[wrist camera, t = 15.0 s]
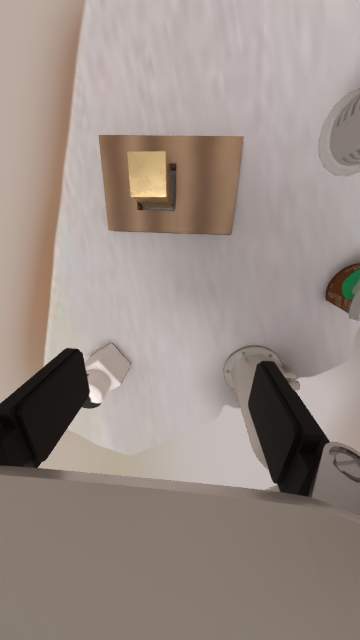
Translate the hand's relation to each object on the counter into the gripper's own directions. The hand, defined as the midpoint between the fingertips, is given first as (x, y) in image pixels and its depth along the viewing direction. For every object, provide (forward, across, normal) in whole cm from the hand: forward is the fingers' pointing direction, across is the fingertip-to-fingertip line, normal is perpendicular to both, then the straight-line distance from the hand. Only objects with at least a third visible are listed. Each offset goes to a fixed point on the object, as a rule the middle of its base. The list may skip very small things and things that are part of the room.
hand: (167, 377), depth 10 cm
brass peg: (+28, +5, -14) cm, 32 cm away
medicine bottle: (+28, +17, +20) cm, 39 cm away
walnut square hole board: (+28, +3, -14) cm, 32 cm away
